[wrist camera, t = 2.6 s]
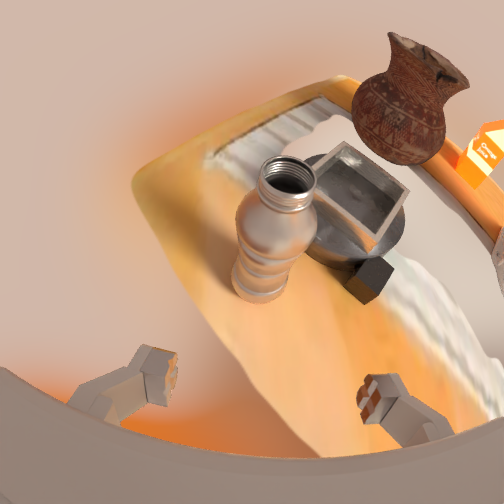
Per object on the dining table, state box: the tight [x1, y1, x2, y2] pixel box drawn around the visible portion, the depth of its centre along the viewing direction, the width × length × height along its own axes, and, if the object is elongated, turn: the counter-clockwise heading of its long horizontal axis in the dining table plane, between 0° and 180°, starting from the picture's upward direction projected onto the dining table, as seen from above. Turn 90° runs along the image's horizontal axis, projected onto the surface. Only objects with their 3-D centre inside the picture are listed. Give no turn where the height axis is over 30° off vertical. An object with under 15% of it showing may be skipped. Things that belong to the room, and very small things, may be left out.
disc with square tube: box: [304, 141, 410, 305], centre depth 37 cm, size 18×20×8 cm
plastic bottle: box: [231, 156, 317, 304], centre depth 26 cm, size 6×7×20 cm
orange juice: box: [455, 120, 504, 189], centre depth 44 cm, size 8×9×20 cm
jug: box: [352, 32, 470, 166], centre depth 40 cm, size 22×21×25 cm
